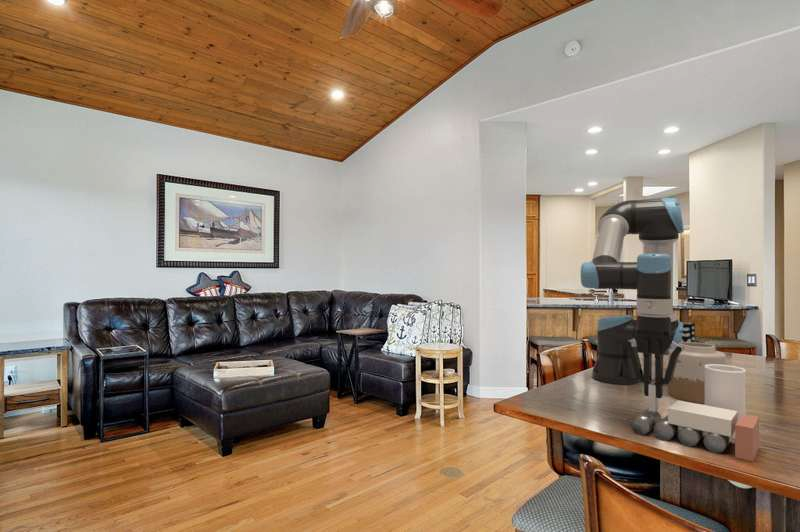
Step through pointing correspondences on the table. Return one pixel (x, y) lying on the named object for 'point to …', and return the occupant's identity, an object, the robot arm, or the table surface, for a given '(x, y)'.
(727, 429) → the board
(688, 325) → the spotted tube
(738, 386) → the cup
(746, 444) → the block
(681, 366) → the vase
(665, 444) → the table surface
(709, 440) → the rollers
